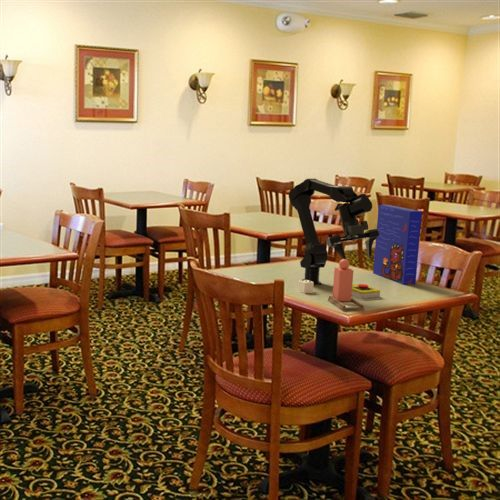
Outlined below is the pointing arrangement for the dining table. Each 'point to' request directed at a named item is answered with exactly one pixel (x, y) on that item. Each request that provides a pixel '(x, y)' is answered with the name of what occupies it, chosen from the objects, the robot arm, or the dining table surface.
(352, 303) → the track
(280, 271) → the dining table surface
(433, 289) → the dining table surface
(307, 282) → the die
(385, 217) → the cereal box
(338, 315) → the dining table surface
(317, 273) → the robot arm
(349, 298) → the pawn
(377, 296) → the emergency button
